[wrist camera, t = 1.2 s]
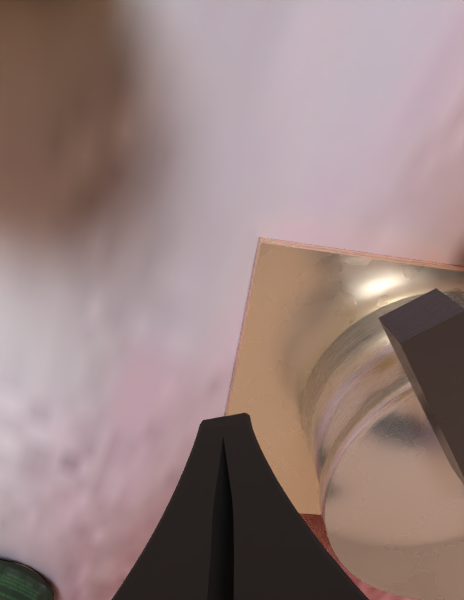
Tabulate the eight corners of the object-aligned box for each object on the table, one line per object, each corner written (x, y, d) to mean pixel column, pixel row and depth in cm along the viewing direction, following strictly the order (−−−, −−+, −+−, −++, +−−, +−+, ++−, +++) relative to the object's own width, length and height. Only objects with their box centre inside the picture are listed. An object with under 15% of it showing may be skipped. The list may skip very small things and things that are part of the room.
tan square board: (643, 214, 20) (809, 249, 14) (467, 512, 28) (528, 604, 23) (275, 151, 18) (304, 163, 12) (209, 493, 26) (209, 590, 21)
